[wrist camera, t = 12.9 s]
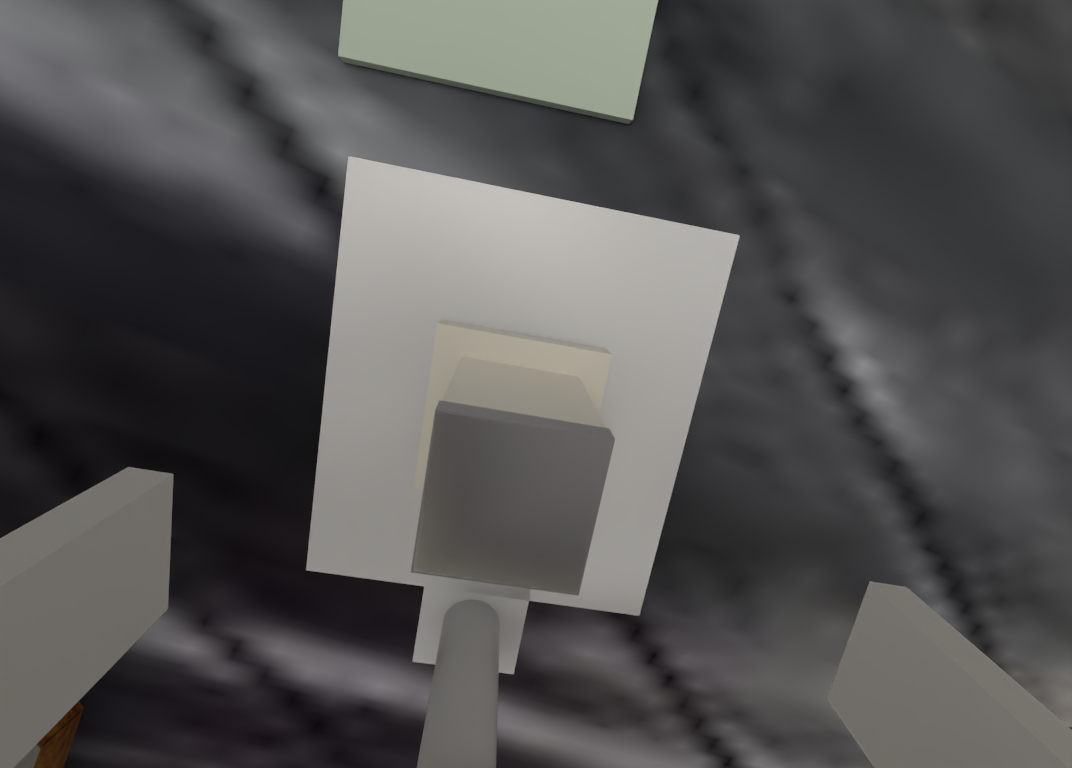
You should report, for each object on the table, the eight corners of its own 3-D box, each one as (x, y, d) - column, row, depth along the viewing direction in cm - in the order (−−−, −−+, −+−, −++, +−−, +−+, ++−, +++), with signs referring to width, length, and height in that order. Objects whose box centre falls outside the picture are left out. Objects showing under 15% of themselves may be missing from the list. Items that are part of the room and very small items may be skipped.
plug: (435, 432, 27) (367, 600, 14) (454, 304, 25) (399, 363, 13) (561, 452, 27) (606, 632, 14) (587, 328, 26) (663, 408, 13)
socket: (334, 578, 28) (159, 909, 14) (381, 174, 24) (192, 68, 10) (602, 614, 29) (686, 952, 15) (695, 237, 25) (935, 225, 11)
